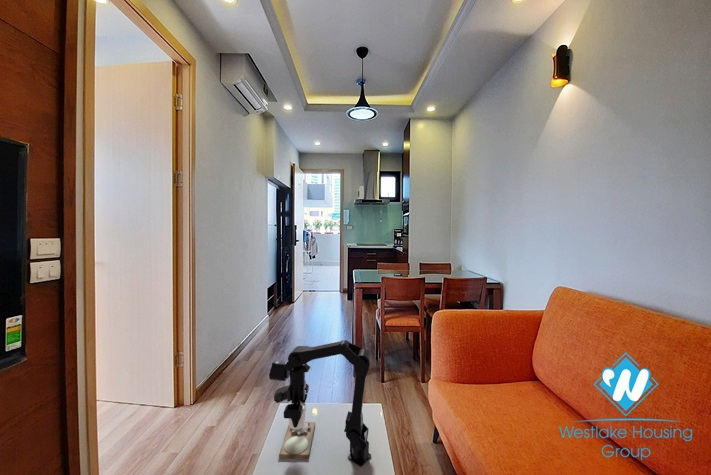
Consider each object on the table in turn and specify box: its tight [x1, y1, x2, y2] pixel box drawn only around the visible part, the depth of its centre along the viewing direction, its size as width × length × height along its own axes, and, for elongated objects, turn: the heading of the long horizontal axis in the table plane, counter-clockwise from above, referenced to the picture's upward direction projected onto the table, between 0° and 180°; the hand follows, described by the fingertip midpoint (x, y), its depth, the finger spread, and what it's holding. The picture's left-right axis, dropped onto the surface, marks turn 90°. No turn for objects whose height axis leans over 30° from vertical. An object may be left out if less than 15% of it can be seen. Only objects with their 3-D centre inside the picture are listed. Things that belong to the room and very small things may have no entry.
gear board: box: [278, 421, 316, 460], centre depth 114 cm, size 11×18×4 cm, turn 0°
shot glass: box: [288, 402, 307, 430], centre depth 110 cm, size 7×7×7 cm
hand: (296, 421), depth 110 cm, fingers closed on shot glass, 6 cm apart
